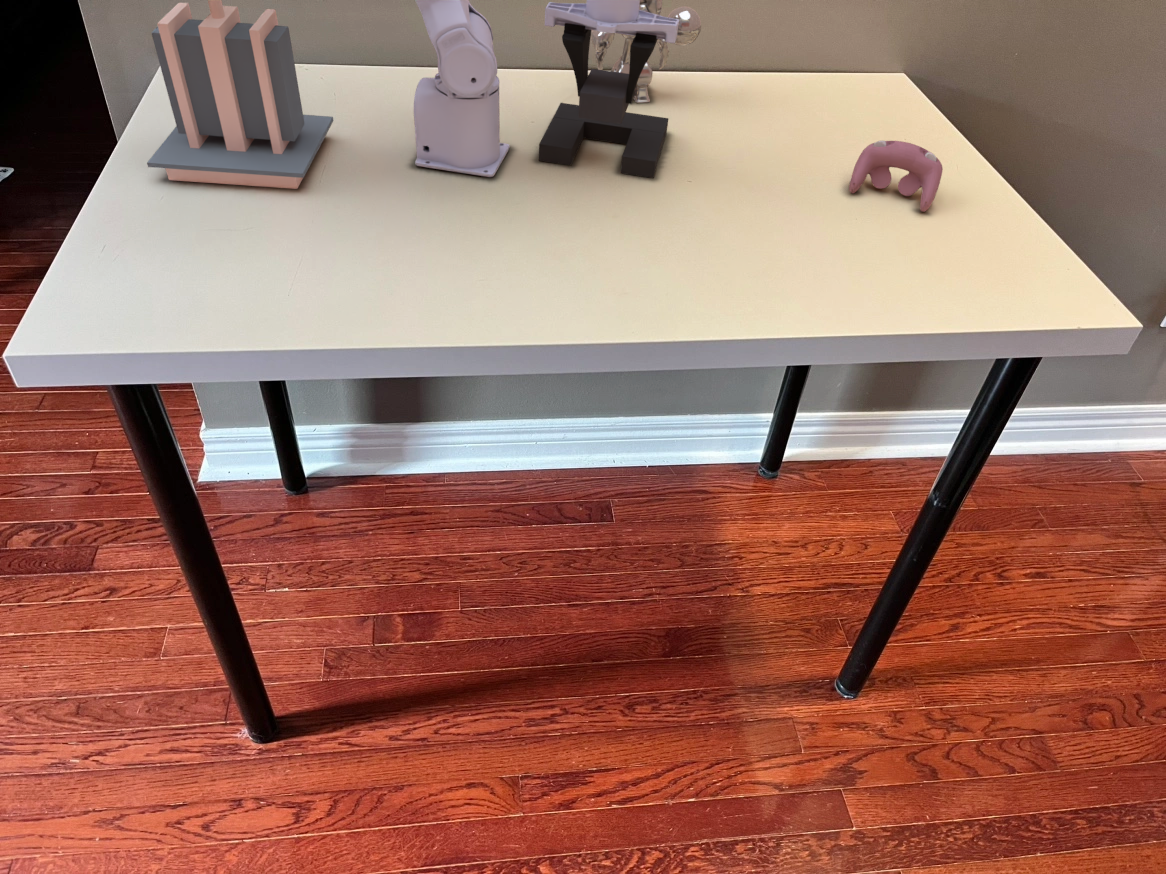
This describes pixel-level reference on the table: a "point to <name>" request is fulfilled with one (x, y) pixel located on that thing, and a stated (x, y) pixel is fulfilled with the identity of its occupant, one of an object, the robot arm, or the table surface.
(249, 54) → the striped block on base
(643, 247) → the table surface
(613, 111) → the pad
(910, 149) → the video game controller
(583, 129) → the notched dark slab
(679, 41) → the robot toy
